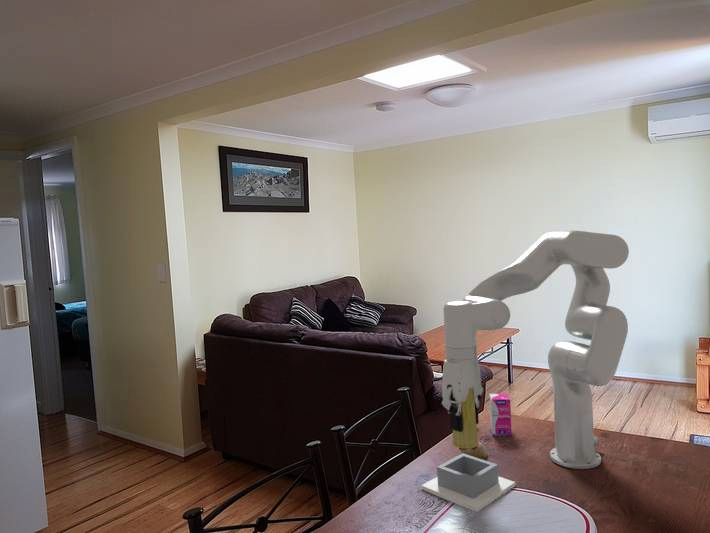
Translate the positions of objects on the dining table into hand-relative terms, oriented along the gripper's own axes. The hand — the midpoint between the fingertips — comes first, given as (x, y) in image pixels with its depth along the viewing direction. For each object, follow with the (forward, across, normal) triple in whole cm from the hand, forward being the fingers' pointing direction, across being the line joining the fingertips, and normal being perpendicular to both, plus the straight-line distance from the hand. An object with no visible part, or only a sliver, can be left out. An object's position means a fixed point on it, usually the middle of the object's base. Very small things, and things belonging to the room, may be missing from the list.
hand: (464, 425), depth 126 cm
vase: (+5, 0, 0) cm, 5 cm away
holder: (+15, 0, 0) cm, 15 cm away
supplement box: (+16, -35, -13) cm, 41 cm away
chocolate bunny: (+16, -15, -9) cm, 24 cm away
